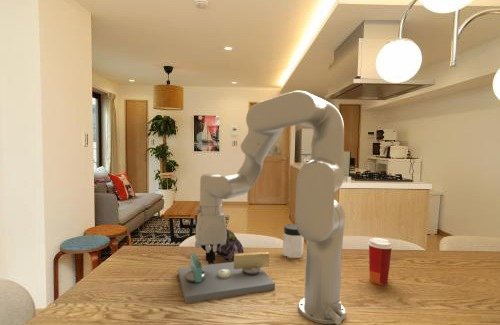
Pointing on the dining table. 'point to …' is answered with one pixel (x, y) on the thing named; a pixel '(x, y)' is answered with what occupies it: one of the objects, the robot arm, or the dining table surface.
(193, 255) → the knob
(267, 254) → the knob
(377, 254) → the paper cup
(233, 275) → the board
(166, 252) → the dining table surface
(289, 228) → the jar
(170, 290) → the dining table surface
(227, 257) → the decorative flower
